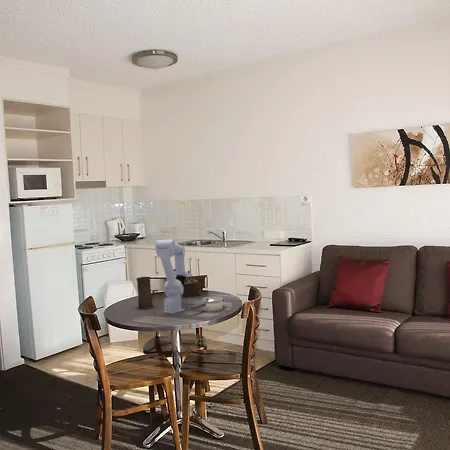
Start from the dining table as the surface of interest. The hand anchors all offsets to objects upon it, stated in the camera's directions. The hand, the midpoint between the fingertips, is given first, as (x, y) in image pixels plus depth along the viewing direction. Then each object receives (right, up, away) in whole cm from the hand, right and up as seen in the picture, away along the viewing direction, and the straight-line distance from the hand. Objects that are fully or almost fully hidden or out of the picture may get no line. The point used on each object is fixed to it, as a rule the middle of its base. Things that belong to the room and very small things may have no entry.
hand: (181, 287), depth 295 cm
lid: (+19, -5, -14) cm, 24 cm away
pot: (+17, -11, -16) cm, 25 cm away
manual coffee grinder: (+1, -9, +25) cm, 27 cm away
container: (-21, -12, 0) cm, 24 cm away
